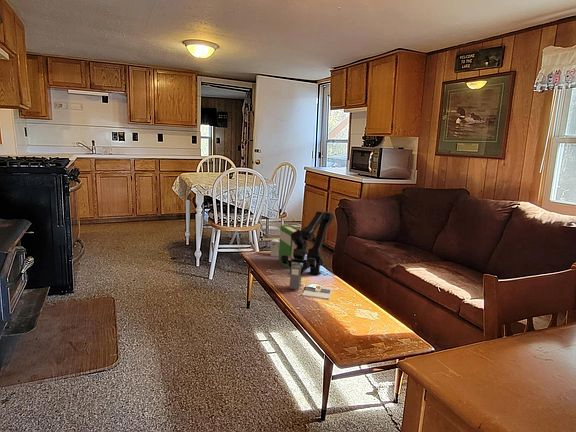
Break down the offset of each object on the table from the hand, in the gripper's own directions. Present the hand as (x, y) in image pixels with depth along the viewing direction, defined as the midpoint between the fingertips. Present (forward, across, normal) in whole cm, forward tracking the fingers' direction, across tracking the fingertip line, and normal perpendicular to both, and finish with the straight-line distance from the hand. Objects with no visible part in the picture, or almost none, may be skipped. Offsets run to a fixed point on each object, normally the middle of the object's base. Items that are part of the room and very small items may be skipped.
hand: (295, 275), depth 206 cm
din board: (+5, +12, +7) cm, 15 cm away
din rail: (+5, +12, +7) cm, 15 cm away
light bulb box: (-36, -24, +48) cm, 64 cm away
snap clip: (+3, +12, +5) cm, 14 cm away
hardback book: (-23, -12, +36) cm, 44 cm away
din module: (+4, 0, +6) cm, 7 cm away
